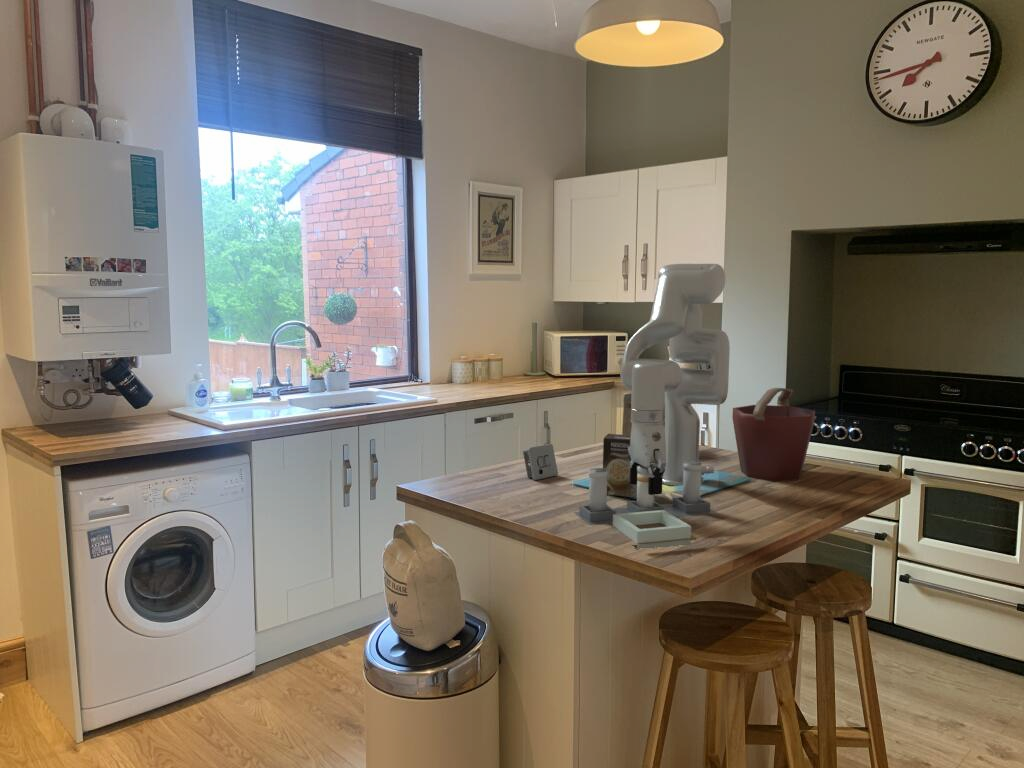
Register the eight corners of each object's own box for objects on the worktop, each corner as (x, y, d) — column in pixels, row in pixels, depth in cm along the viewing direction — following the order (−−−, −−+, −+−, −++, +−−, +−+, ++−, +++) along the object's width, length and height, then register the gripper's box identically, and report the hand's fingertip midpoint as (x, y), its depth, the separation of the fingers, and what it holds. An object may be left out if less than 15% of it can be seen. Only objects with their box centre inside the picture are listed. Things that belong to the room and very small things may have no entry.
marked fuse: (649, 509, 184) (650, 464, 183) (657, 514, 180) (658, 468, 179) (633, 510, 183) (634, 465, 182) (640, 515, 179) (642, 469, 178)
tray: (663, 527, 176) (663, 509, 175) (690, 544, 164) (691, 526, 163) (612, 531, 172) (613, 514, 172) (637, 550, 160) (637, 531, 160)
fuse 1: (602, 513, 181) (603, 467, 179) (609, 518, 177) (610, 471, 175) (585, 515, 180) (586, 468, 178) (592, 520, 176) (593, 472, 174)
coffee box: (600, 499, 198) (601, 437, 196) (606, 493, 204) (607, 433, 202) (636, 503, 195) (637, 440, 193) (640, 496, 201) (642, 435, 199)
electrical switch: (534, 481, 217) (532, 448, 216) (522, 479, 220) (520, 447, 220) (558, 476, 223) (556, 443, 222) (546, 474, 227) (544, 442, 226)
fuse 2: (694, 505, 188) (695, 460, 186) (703, 510, 184) (705, 464, 182) (678, 506, 186) (680, 462, 185) (687, 511, 182) (689, 465, 181)
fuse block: (695, 507, 191) (695, 493, 191) (716, 519, 181) (717, 504, 181) (573, 518, 182) (573, 503, 182) (589, 531, 173) (589, 516, 172)
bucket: (766, 461, 241) (769, 381, 238) (832, 475, 223) (837, 389, 220) (715, 473, 226) (718, 388, 223) (782, 488, 209) (786, 396, 205)
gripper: (680, 421, 171) (678, 497, 173) (645, 410, 188) (643, 479, 190) (649, 423, 169) (647, 499, 171) (616, 411, 186) (615, 481, 188)
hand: (645, 489), depth 181 cm, fingers open, 9 cm apart
